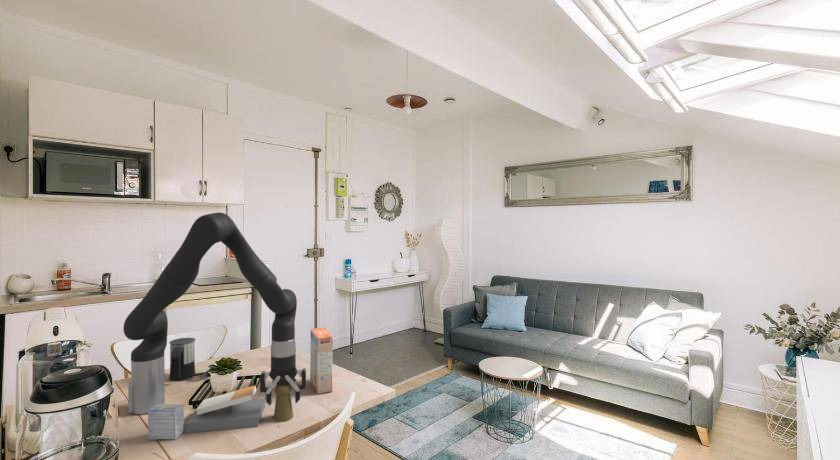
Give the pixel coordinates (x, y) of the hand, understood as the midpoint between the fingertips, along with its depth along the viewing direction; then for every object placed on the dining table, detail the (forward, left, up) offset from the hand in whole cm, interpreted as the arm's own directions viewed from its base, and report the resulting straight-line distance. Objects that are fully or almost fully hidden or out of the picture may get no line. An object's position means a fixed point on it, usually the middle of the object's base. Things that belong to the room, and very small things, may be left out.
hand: (283, 402), depth 127 cm
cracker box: (+11, +22, -5) cm, 25 cm away
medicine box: (-32, -5, -5) cm, 33 cm away
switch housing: (-17, +2, -5) cm, 18 cm away
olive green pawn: (0, 0, -5) cm, 5 cm away
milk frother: (-40, +41, -5) cm, 57 cm away
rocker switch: (-17, +2, +1) cm, 17 cm away
